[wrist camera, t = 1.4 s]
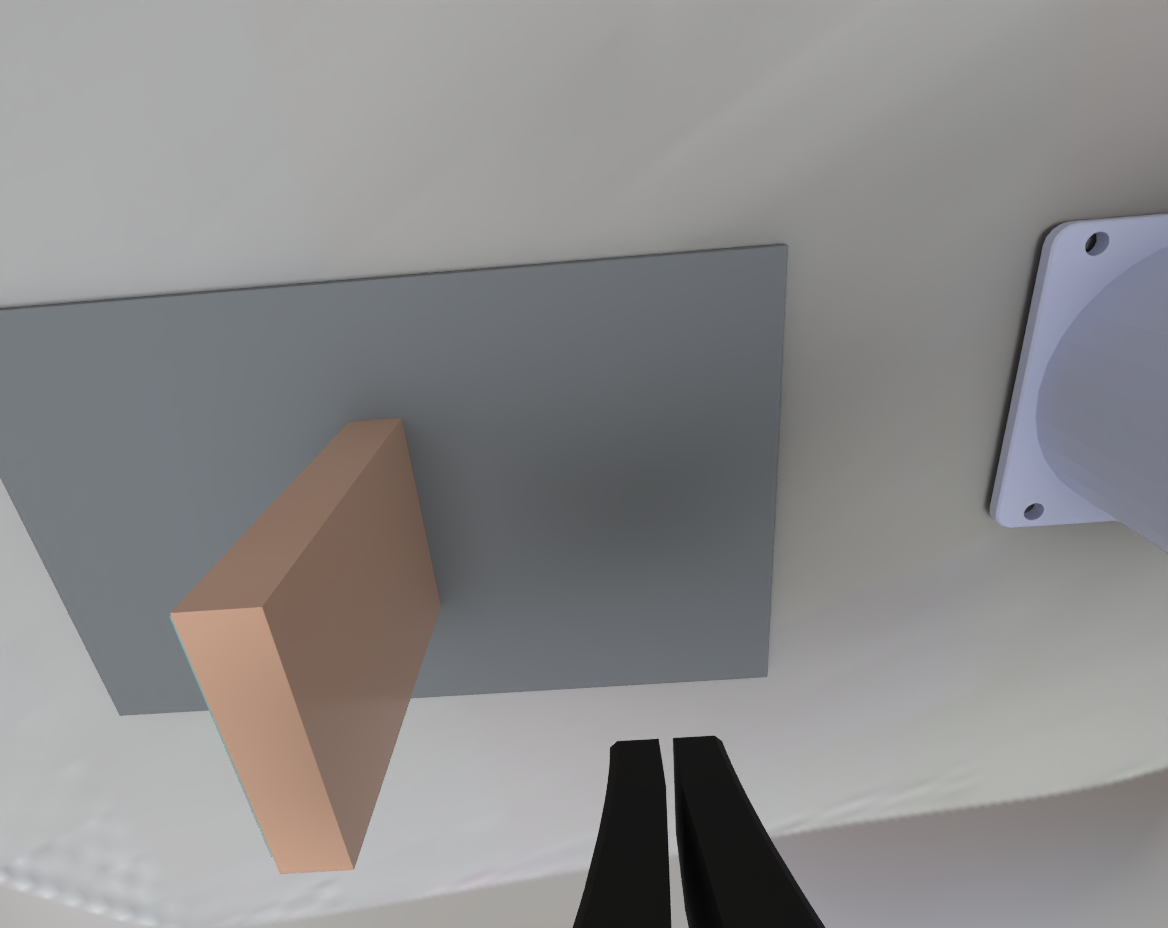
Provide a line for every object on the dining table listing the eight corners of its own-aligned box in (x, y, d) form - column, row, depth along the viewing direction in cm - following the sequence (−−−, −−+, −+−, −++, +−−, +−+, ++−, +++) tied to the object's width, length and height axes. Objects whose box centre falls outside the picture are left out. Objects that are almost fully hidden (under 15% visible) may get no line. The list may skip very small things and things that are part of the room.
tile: (401, 417, 17) (262, 607, 10) (440, 606, 19) (353, 869, 12) (341, 422, 17) (156, 613, 10) (387, 609, 19) (269, 874, 12)
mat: (783, 243, 15) (787, 245, 15) (764, 667, 21) (767, 676, 20) (-66, 314, 16) (-80, 317, 16) (127, 706, 22) (119, 715, 21)
